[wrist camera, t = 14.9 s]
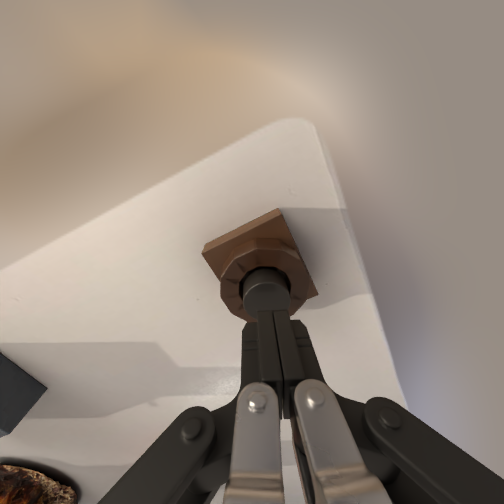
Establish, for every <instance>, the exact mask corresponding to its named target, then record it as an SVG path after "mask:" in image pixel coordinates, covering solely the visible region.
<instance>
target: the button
mask: <svg viewBox="0 0 504 504" xmlns="http://www.w3.org/2000/svg"><path fill="white" fill-rule="evenodd" d="M290 302H291V299H290V294H289V291H288V288H287V285H286V282H285V279H284V277H283V276H282V275H281V274H280V273H279V272H278V271H276V270H273V269H270V268H261V269H257V270H255V271H253V272H251V273H250V274H249V275H248V276H247V277H246V279H245V281H244V284H243V306H244V309H245V311H246V312H247V314H248V315H249V316H251V317H252V318H254V319H256V320H257V311H267V310H271V311H272V310H284V309H287V310H288V309H289V306H290Z"/></svg>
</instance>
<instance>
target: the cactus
mask: <svg viewBox="0 0 504 504" xmlns="http://www.w3.org/2000/svg"><path fill="white" fill-rule="evenodd" d="M76 501H77V494H76V493H75V491H74V490H72V489H71V488H70V487H67V486H65V485H60V484H59V482H55V481H53V480H52V479H51V478H48V477H46V476H45V475H44V474H41V473H40V472H35V471H33V470H29V469H26V468H23V467H15V466H10V465H9V466H6V465H2V464H0V504H78V503H77V502H76Z"/></svg>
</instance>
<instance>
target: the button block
mask: <svg viewBox="0 0 504 504" xmlns="http://www.w3.org/2000/svg"><path fill="white" fill-rule="evenodd" d="M201 254H202V255H203V257H204V258H205V260H206V261H207V263H208V264H209V266H210V267H211V269H212V270H213V272H214V273H215V275H216V276H217V278H218V279H219V281H220V294H221V299H222V300H223V302H224V303H225V304H226V306H227V307H228V309H229V310H230V312H231V313H232V314H233V315H235V316H237V317H239V318H241V319H243V320H245V321H247V323H251V322H257V320H256V319H254V318H252V317H251V316H249V315H248V314H247V312H246V311H245V309H244V306H243V284H244V281H245V279H246V277H247V276H248V275H249V274H250V273H251V272H253V271H255V270H257V269H261V268H270V269H273V270H276V271H278V272H279V273H280V274H281V275H282V276H283V277H284V279H285V282H286V285H287V288H288V291H289V294H290V299H291V302H290V306H289V309H288V313H289V317H290V316H292V315H294V314H295V312H296V311H297V310H298V309H299V308H300V307H301V306H302V305H303V304H304V302H305V301H306V300H307V299H309V298H312V297H314V296H316V295H318V292H317V290H316V288H315V285H314V283H313V281H312V279H311V277H310V275H309V272H308V270H307V268H306V266H305V264H304V261H303V259H302V257H301V255H300V253H299V251H298V248H297V246H296V244H295V242H294V240H293V237H292V235H291V233H290V231H289V229H288V227H287V224H286V222H285V220H284V218H283V216H282V214H281V212H280V210H279V209H278V208H277V209H275V210H273V211H271V212H269V213H267V214H265V215H263V216H261V217H259V218H257V219H255V220H253V221H251V222H249V223H247V224H245V225H243V226H241V227H239V228H237V229H235V230H233V231H231V232H229V233H227V234H225V235H223V236H221V237H219V238H217V239H215V240H213V241H211V242H209V243H207V244H205V246H204V249H203V251H202V253H201Z"/></svg>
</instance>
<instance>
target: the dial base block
mask: <svg viewBox="0 0 504 504" xmlns="http://www.w3.org/2000/svg"><path fill="white" fill-rule="evenodd" d="M46 390H47V388H45V387H44V386H43V385H41V384H40V383H39V382H37V381H36V380H35V379H33V378H32V377H31V376H29V375H28V374H27V373H25V372H24V371H23V370H21V369H20V368H19V367H17V366H16V365H15V364H13V363H12V362H11V361H9V360H8V359H7V358H5V357H4V356H3V355H1V354H0V437H3V436H5V435H8V434H10V433H11V432H12V430H13V429H14V428H15V427H16V426H17V424H18V423H19V422H20V421H21V420H22V419H23V417H24V416H25V415H26V414H27V413H28V411H29V410H30V409H31V408H32V407H33V405H34V404H35V403H36V402H37V401H38V400H39V398H40V397H41V396H42V395H43V394H44V392H45V391H46Z"/></svg>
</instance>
